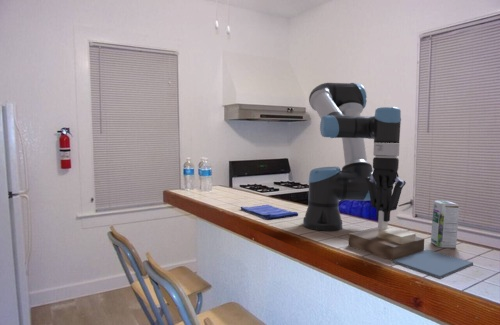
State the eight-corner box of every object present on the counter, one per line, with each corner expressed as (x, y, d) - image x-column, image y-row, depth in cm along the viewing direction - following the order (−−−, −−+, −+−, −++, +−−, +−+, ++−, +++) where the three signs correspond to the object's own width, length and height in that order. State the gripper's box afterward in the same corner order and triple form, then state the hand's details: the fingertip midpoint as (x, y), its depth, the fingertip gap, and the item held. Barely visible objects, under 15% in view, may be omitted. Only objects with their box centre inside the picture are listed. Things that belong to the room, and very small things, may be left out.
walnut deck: (348, 245, 110) (348, 233, 110) (378, 238, 119) (379, 227, 119) (393, 260, 97) (394, 247, 97) (423, 251, 106) (424, 238, 105)
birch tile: (378, 237, 106) (378, 230, 106) (391, 234, 110) (391, 227, 110) (401, 244, 99) (402, 236, 99) (415, 240, 103) (415, 233, 103)
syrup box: (429, 242, 115) (432, 200, 114) (447, 242, 115) (450, 200, 114) (438, 247, 110) (441, 203, 109) (457, 248, 110) (460, 203, 109)
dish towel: (268, 221, 142) (268, 214, 142) (239, 210, 162) (239, 205, 162) (299, 217, 152) (299, 210, 151) (268, 207, 171) (268, 201, 171)
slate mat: (392, 262, 96) (392, 260, 96) (426, 251, 106) (427, 249, 106) (439, 278, 85) (440, 275, 85) (472, 264, 95) (473, 262, 95)
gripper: (361, 156, 110) (358, 227, 112) (397, 158, 99) (394, 237, 101) (375, 156, 114) (372, 225, 116) (412, 157, 104) (408, 234, 105)
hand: (382, 230), depth 108 cm, fingers closed
